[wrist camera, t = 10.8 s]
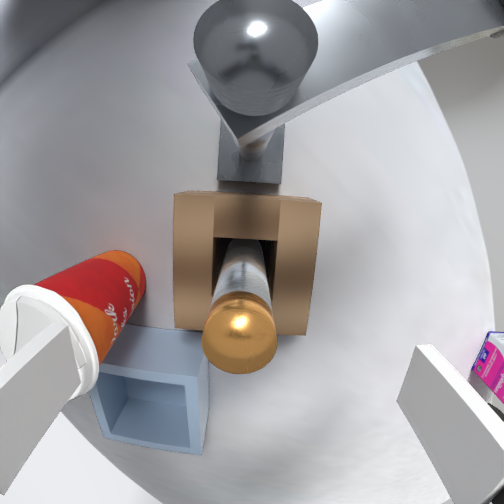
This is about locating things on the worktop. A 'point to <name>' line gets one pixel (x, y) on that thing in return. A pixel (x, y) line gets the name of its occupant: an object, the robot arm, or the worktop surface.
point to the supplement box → (492, 363)
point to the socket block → (246, 227)
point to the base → (250, 171)
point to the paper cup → (77, 309)
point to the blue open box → (154, 390)
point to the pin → (241, 312)
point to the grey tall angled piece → (318, 52)
